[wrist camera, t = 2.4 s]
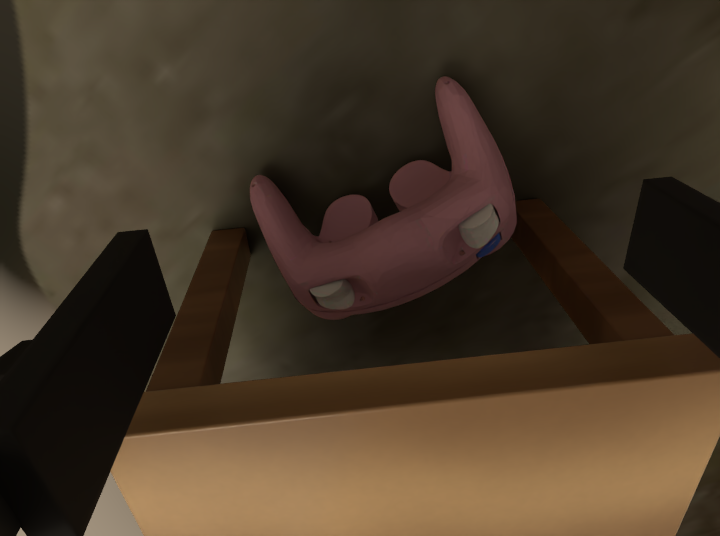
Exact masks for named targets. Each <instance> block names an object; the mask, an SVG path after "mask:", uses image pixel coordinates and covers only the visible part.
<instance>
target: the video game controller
mask: <svg viewBox="0 0 720 536" xmlns="http://www.w3.org/2000/svg"><path fill="white" fill-rule="evenodd" d="M435 97H436V104H437V109H438V114H439V119H440V123H441V126H442V130H443V133H444V137H445V141H446V144H447V148H448V151H449V153H450V156H451V160H452V171H449V172H448V171H446V170H444V169H441V168H440V167H438V166H436V165H434V164H433V163H431V162H428V161H425V160H418V161H413V162H410V163H408V164H406V165H405V166H403V167H401V168H400V169H399V170H398V171H397V172H396V173H395V174H394V175H393V177H392V179H391V181H390V184H389V191H390V195H391V197H392V198H393V201H394V203H395V204H396V206H397V208H398V209H399V211H400V212H398V213H396V214H393V215H391V216H388V217H386V218H384V219H382V220H380V221H378V218H377V216H376V214H375V212H374V210H373V208H372V206H371V204H370V202H369V201H368V200H367V199H366V198H365V197H364V196H361V195H347V196H344V197H341V198H339V199H337V200H336V201H334V202H333V203H332V204H331V205H330V206H329V207H328V209H327V210H326V213H325V216H324V219H323V224H322V228H321V232H320V235H319V236H314V235H312V233H311V232H310V231H309V230H308V229H307V228H306V227H305V226H304V225H303V224H302V223H301V221H300V220H299V218H298V217H297V215H296V213H295V212H294V210H293V209H292V207H291V205H290V204H289V202H288V201H287V199H286V198H285V197H284V195H283V194H282V193H281V191H280V190H279V189H278V188H277V186H276V185H275V184H274V183H273V182H272V181H271V180H270V179H269V178H267V177H265V176H262V175H256V176H255V177H254V178H253V179H252V181H251V185H250V200H251V204H252V208H253V211H254V214H255V216H256V219H257V221H258V223H259V226H260V228H261V231H262V233H263V236H264V238H265V240H266V243H267V245H268V247H269V250H270V252H271V254H272V256H273V258H274V260H275V262H276V264H277V266H278V268H279V270H280V272H281V274H282V275H283V277H284V279H285V280H286V282H287V284H288V285H289V287H290V289H291V291H292V293H293V295H294V296H295V298H296V299H297V300H298V302H299V303H300V304H302V305H303V306H304V307H305V308H307V309H308V310H309V311H310V312H312V313H313V314H314V315H316V316H318V317H320V318H323V319H328V320H338V319H343V318H346V317H349V316H351V315H354V314H365V313H370V312H376V311H381V310H385V309H388V308H391V307H394V306H398V305H401V304H404V303H406V302H409V301H411V300H414V299H416V298H418V297H421V296H423V295H425V294H427V293H429V292H431V291H433V290H435V289H437V288H439V287H441V286H443V285H444V284H446V283H447V282H449V281H450V280H452V279H454V278H455V277H457V276H458V275H460V274H461V273H463V272H464V271H466V270H467V269H469V268H470V267H471V266H472V265H473V264H474V263H476V262H477V261H478V260H479V259H480V258H482V257H483V256H487V255H490V254H492V253H493V252H495V251H497V250H499V249H500V248H501V247H502V246H503V245H504V244H505V243H506V242H507V241H508V240H509V239H510V237H511V236H512V234H513V232H514V230H515V227H516V223H517V216H516V206H515V194H514V191H513V187H512V183H511V180H510V176H509V173H508V170H507V167H506V165H505V162H504V159H503V157H502V155H501V153H500V150H499V148H498V146H497V144H496V142H495V140H494V138H493V137H492V135H491V133H490V131H489V130H488V128H487V126H486V124H485V123H484V121H483V119H482V117H481V116H480V114H479V112H478V110H477V109H476V107H475V105H474V103H473V102H472V100H471V98H470V97H469V95H468V94H467V93H466V91H465V90H464V89H463V88H462V87H461V86H460V85H459V84H458V83H457V81H455V80H453V79H451V78H449V77H445V76H444V77H441V78H439V79H438V80H437V84H436V87H435Z"/></svg>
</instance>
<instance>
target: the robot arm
mask: <svg viewBox="0 0 720 536" xmlns="http://www.w3.org/2000/svg"><path fill="white" fill-rule="evenodd" d="M623 269H624V270H626V271H627V272H628V273H629V274H630V275H631V276H632V277H633V278H634V279H635V280H636V281H637V282H638V283H639V284H641V285H642V286H643V287H644V288H645V289H646V290H647V291H648V292H649V293H650V294H651V295H652V296H653V297H654V298H656V299H657V300H658V301H659V302H660V303H661V304H662V305H663V306H664V307H665V308H666V309H667V310H668V311H669V312H671V313H672V314H673V315H674V316H675V317H676V318H677V319H678V320H679V321H680V322H681V323H682V324H683V325H684V326H685V327H687V328H688V329H689V330H690V331H691V332H692V333H693V334H694V335H695V336H696V337H697V338H698V339H699V340H700V341H702V342H703V343H704V344H705V345H706V346H707V347H708V348H709V349H710V350H711V351H712V352H713V353H714V354H715V355H717V356H718V357H719V358H720V203H719V202H717V201H715V200H713V199H711V198H709V197H708V196H706V195H704V194H702V193H700V192H699V191H697V190H695V189H693V188H691V187H689V186H688V185H686V184H684V183H682V182H680V181H678V180H677V179H675V178H673V177H664V178H654V179H644V180H643V184H642V188H641V193H640V197H639V202H638V206H637V210H636V215H635V219H634V224H633V228H632V232H631V237H630V241H629V246H628V250H627V254H626V259H625V263H624V268H623ZM175 316H176V315H175V312H174V309H173V306H172V303H171V299H170V296H169V293H168V290H167V287H166V284H165V281H164V278H163V275H162V272H161V269H160V266H159V263H158V260H157V256H156V253H155V250H154V247H153V244H152V241H151V238H150V235H149V232H148V229H146V230H136V231H126V232H118V233H117V234H116V235H115V237H114V238H113V239H112V240H111V242H110V243H109V244H108V245H107V247H106V248H105V249H104V250H103V252H102V253H101V254H100V255H99V257H98V258H97V259H96V261H95V262H94V263H93V264H92V266H91V267H90V268H89V269H88V271H87V272H86V273H85V274H84V276H83V277H82V278H81V280H80V281H79V282H78V283H77V285H76V286H75V287H74V288H73V290H72V291H71V292H70V293H69V295H68V296H67V297H66V298H65V300H64V301H63V302H62V304H61V305H60V306H59V307H58V309H57V310H56V311H55V313H54V314H53V315H52V316H51V318H50V319H49V320H48V321H47V323H46V324H45V325H44V326H43V328H42V329H41V330H40V331H39V333H38V334H37V335H36V336H35V338H34V339H33V340H26V341H21V342H20V343H19V344H17V345H16V346H14V347H13V348H12V349H10V350H9V351H8V352H6V353H5V354H4V355H2V356H1V357H0V536H16V535H17V533H18V531H19V529H20V527H21V528H22V530H23V531H24V532H25V534H26V535H27V536H83V535H84V533H85V530H86V528H87V525H88V523H89V521H90V519H91V516H92V513H93V511H94V509H95V507H96V504H97V502H98V499H99V497H100V495H101V492H102V490H103V487H104V485H105V483H106V480H107V478H108V476H109V473H110V471H111V469H112V466H113V464H114V461H115V459H116V457H117V454H118V452H119V450H120V447H121V445H122V442H123V440H124V438H125V435H126V433H127V430H128V428H129V426H130V423H131V421H132V419H133V416H134V414H135V411H136V409H137V407H138V404H139V402H140V400H141V397H142V395H143V392H144V390H145V388H146V385H147V383H148V380H149V378H150V376H151V373H152V371H153V369H154V366H155V364H156V361H157V359H158V357H159V354H160V352H161V350H162V347H163V345H164V342H165V340H166V338H167V335H168V333H169V331H170V328H171V326H172V323H173V321H174V319H175Z"/></svg>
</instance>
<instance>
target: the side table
mask: <svg viewBox="0 0 720 536" xmlns="http://www.w3.org/2000/svg"><path fill="white" fill-rule="evenodd" d="M515 206H516V216H517V223H516V227H515V230H514V232H513V234H512V236H511V238H512V239H513V241H514V242H515V243H516V245H517V246H518V247H519V249H520V250H521V252H522V253H523V254H524V256H525V257H526V258H527V260H528V261H529V262H530V264H531V265H532V267H533V268H534V269H535V271H536V272H537V273H538V275H539V276H540V277H541V279H542V280H543V282H544V283H545V284H546V286H547V287H548V288H549V290H550V291H551V292H552V294H553V295H554V297H555V298H556V299H557V301H558V302H559V303H560V305H561V306H562V307H563V309H564V310H565V312H566V313H567V314H568V316H569V317H570V318H571V320H572V321H573V322H574V324H575V325H576V327H577V328H578V329H579V331H580V332H581V333H582V335H583V336H584V338H585V339H586V340H587V342H588V343H589V345H580V346H570V347H561V348H552V349H542V350H533V351H523V352H514V353H505V354H495V355H486V356H477V357H467V358H458V359H449V360H439V361H430V362H420V363H411V364H402V365H392V366H383V367H374V368H364V369H355V370H345V371H336V372H327V373H317V374H308V375H299V376H289V377H280V378H270V379H261V380H252V381H242V382H233V383H224V384H220V383H221V378H222V374H223V370H224V366H225V362H226V357H227V353H228V349H229V345H230V341H231V336H232V332H233V328H234V324H235V320H236V315H237V311H238V307H239V303H240V299H241V294H242V290H243V286H244V282H245V278H246V273H247V269H248V265H249V261H250V257H251V254H250V249H249V245H248V240H247V236H246V231H245V228H236V229H226V230H215V231H212V232H211V234H210V237H209V239H208V242H207V244H206V247H205V249H204V252H203V254H202V256H201V259H200V261H199V264H198V266H197V269H196V271H195V273H194V276H193V278H192V281H191V283H190V286H189V288H188V290H187V293H186V295H185V298H184V300H183V303H182V305H181V307H180V310H179V312H178V315H177V317H176V320H175V322H174V324H173V327H172V329H171V332H170V334H169V337H168V339H167V341H166V344H165V346H164V349H163V351H162V354H161V356H160V358H159V361H158V363H157V366H156V368H155V371H154V373H153V375H152V378H151V380H150V383H149V385H148V388H147V390H146V392H143V395H142V397H141V400H140V402H139V404H138V407H137V409H136V411H135V414H134V416H133V419H132V421H131V423H130V426H129V428H128V430H127V433H126V435H125V438H124V440H123V442H122V445H121V447H120V450H119V452H118V454H117V457H116V459H115V461H114V464H113V466H112V469H111V471H110V472H111V473H112V475H113V477H114V479H115V481H116V483H117V485H118V487H119V489H120V491H121V493H122V495H123V497H124V498H125V500H126V502H127V504H128V506H129V508H130V510H131V512H132V514H133V516H134V517H135V519H136V521H137V523H138V525H139V527H140V529H141V531H142V533H143V535H144V536H675V535H676V533H677V531H678V529H679V526H680V524H681V522H682V520H683V517H684V515H685V513H686V511H687V508H688V506H689V504H690V502H691V499H692V497H693V495H694V493H695V490H696V488H697V486H698V484H699V481H700V479H701V477H702V475H703V472H704V470H705V468H706V466H707V463H708V461H709V459H710V457H711V454H712V452H713V450H714V448H715V445H716V443H717V441H718V439H719V437H720V358H719V357H718V356H717V355H715V354H714V353H713V352H712V351H711V350H710V349H709V348H708V347H707V346H706V345H705V344H704V343H703V342H702V341H700V340H699V339H698V338H697V337H696V336H695V335H694V334H693V333H692V334H683V335H674V334H673V333H672V332H671V331H670V330H669V329H668V328H667V327H666V326H665V325H664V324H663V323H662V322H661V321H660V320H659V319H658V318H657V317H656V316H655V315H654V314H653V313H652V312H651V311H650V310H649V309H648V308H647V307H646V306H645V305H644V304H643V303H642V302H641V301H640V300H639V299H638V298H637V297H636V296H635V295H634V294H633V293H632V291H631V290H630V289H629V288H628V287H627V286H626V285H625V284H624V283H623V282H622V281H621V280H620V279H619V278H618V277H617V276H616V275H615V274H614V273H613V272H612V271H611V270H610V269H609V268H608V267H607V266H606V265H605V264H604V263H603V262H602V261H601V260H600V259H599V258H598V257H597V256H596V255H595V254H594V253H593V252H592V251H591V250H590V249H589V248H588V247H587V246H586V245H585V244H584V243H583V242H582V241H581V240H580V239H579V238H578V237H577V236H576V235H575V234H574V233H573V232H572V231H571V230H570V229H569V228H568V227H567V226H566V225H565V224H564V223H563V222H562V221H561V220H560V219H559V217H558V216H557V215H556V214H555V213H554V212H553V211H552V210H551V209H550V208H549V207H548V206H547V205H546V204H545V203H544V202H543V201H542V200H541V199H530V200H519V201H515Z"/></svg>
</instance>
